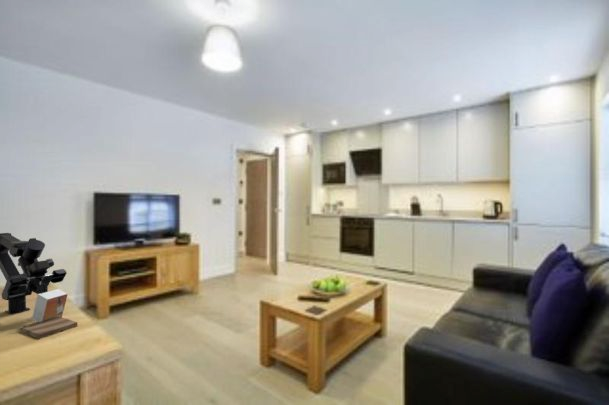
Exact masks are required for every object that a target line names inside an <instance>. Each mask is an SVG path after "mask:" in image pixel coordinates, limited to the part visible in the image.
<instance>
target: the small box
mask: <svg viewBox="0 0 609 405" xmlns="http://www.w3.org/2000/svg"><path fill="white" fill-rule="evenodd" d="M67 298H68V293H67V292H64V291H63V290H62V289H59V288H56V289H53V290H48V292H45V293H41V294H37V296H36V299H35V304H34V308H33V312H32V317H31V318H32V320H34V321H35V322H36V323H38V322H41V321H45V320H48V319H51V318H55V317H58V316H59V317H62V318H63V314H64V310H65V306H66V303H67Z"/></svg>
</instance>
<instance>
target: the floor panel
mask: <svg viewBox="0 0 609 405" xmlns="http://www.w3.org/2000/svg"><path fill="white" fill-rule="evenodd" d="M76 327H78V321H75V320H71V319H68V318H65V317H63V316H62V317H59V316H58V317H55V318H51V319H48V320H45V321H41V322H34V323H31V324H28V325H25V326H20V332H21V333H24V334H26V335H29V336H31V337H34V338H36V339H39V340H40V339H42V338H46V337H49V336H51V335H56V334H58V333H61V332H64V331H67V330H70V329H74V328H76Z"/></svg>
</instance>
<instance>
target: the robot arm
mask: <svg viewBox="0 0 609 405" xmlns="http://www.w3.org/2000/svg"><path fill="white" fill-rule="evenodd" d="M45 247H46V244H45V242H43V241H42V240H38V239H36V237H32V238H29V239H28V240H21V239H19V238H17V237H15V236H14V235H12V234H11V233H10V232H3V233H2V232H1V233H0V272H1V273H2V275H3V276H4V279H5V280H6V282H5V285H4V287H3V290H2V292H1V299H2V300H5V301H7V304H8V306H7V308H8V309H7V310H5V311H4V313H6V314H9V315H14V314H19V313H23V312H25V311H30V310H31V308H30V307H27V297H28V296H31V295H32V293H35V294H37V295H38V294H41V293H45V292H49V290H48V287H49V285H50V284H51V283H52V284H58V283H62V282H63V281H64V280H65V277H66V275H67V274H68V273H67V271H66V270H65V269H64V268H61V269H55V270H53V271H52V273H50V274H47V273H48V269H50V268H52V267H54V265H55V263H54V260H53V258H46V259H45V260H40V261H39V260H38V258H40V257H41V255H42V253H43V251H44V249H45ZM11 256H12V257H13V258H17V257H19V258H18V260H17V262H18V263H17V266H18V267H20V269H21V271H22V273H20V272H19V270H18V268H17V267H16V265H15V263H14V260H13V259H12V258H11Z"/></svg>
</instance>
